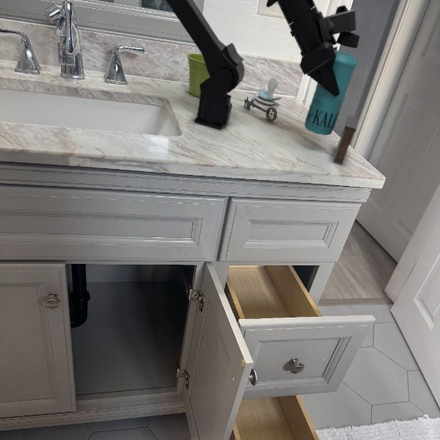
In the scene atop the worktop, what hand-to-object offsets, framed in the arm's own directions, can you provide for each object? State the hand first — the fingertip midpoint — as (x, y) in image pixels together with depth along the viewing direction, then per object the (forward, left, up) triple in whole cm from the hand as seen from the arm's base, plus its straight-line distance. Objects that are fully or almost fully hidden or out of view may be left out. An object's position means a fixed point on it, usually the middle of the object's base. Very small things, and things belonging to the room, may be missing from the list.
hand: (337, 92), depth 86 cm
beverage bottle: (-2, 0, -10) cm, 10 cm away
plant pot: (-34, +18, -13) cm, 40 cm away
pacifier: (-18, +28, -13) cm, 35 cm away
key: (-17, +14, -13) cm, 25 cm away
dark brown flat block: (+5, 0, -12) cm, 13 cm away
